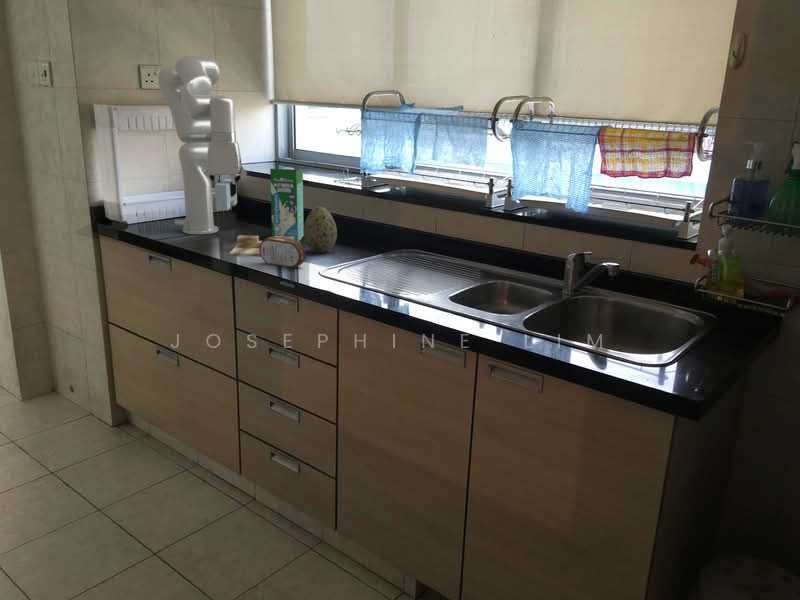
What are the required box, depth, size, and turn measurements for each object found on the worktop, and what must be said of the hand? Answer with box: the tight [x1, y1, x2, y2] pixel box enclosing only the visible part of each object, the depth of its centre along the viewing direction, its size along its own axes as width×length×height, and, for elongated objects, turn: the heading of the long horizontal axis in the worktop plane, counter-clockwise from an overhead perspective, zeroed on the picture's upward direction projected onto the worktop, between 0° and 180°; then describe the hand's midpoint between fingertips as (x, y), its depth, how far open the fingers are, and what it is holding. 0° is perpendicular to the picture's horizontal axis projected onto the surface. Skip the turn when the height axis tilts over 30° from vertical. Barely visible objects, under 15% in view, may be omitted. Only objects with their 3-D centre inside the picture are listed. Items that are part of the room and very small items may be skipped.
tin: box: [259, 235, 306, 269], centre depth 205 cm, size 15×3×8 cm, turn 65°
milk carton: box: [269, 166, 304, 242], centre depth 237 cm, size 9×9×25 cm
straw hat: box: [229, 234, 301, 257], centre depth 224 cm, size 20×18×4 cm
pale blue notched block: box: [214, 178, 238, 211], centre depth 221 cm, size 14×4×8 cm, turn 0°
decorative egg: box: [303, 205, 338, 254], centre depth 221 cm, size 11×11×15 cm
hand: (226, 195), depth 221 cm, fingers closed on pale blue notched block, 3 cm apart
